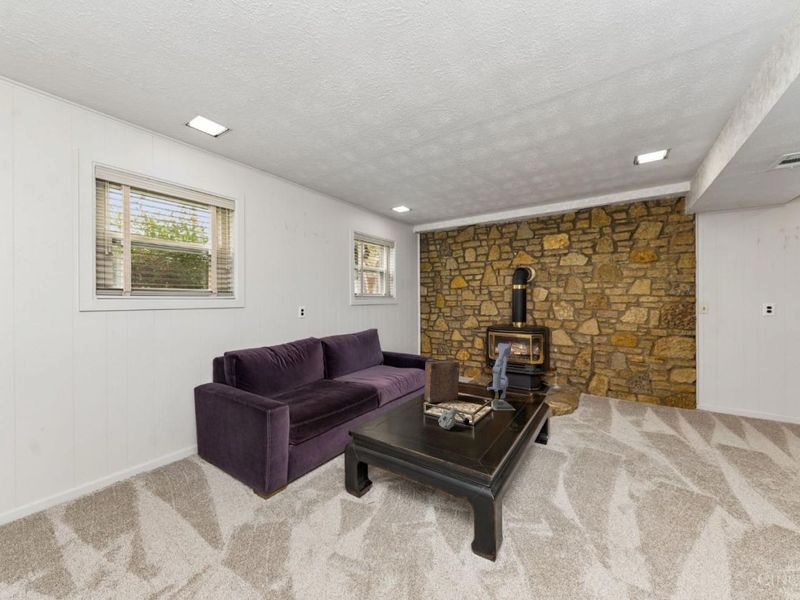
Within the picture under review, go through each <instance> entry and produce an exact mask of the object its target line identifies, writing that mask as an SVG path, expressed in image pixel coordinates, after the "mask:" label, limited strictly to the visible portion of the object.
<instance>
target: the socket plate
mask: <svg viewBox="0 0 800 600" xmlns="http://www.w3.org/2000/svg"><path fill="white" fill-rule="evenodd" d="M487 400H488V399H483V401H484V402H485V403H486V402H487ZM492 409H493V410H494V411H516V409H515V408H514V407H513V406H512V405H511V404H509V403H508V401H505V400H504V399H500V400H499V401H493V408H492Z"/></svg>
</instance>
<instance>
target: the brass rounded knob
mask: <svg viewBox="0 0 800 600" xmlns="http://www.w3.org/2000/svg"><path fill="white" fill-rule="evenodd" d="M494 391H495V390H494ZM492 400H493V399H492ZM493 401H499V391H495V394H494V400H493Z"/></svg>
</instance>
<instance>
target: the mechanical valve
mask: <svg viewBox="0 0 800 600" xmlns="http://www.w3.org/2000/svg"><path fill="white" fill-rule="evenodd" d="M456 415H457V416H459V418H460V419H462V423H463V425H467V426H468V425H469V424H470V422H469V421H470V419H469V418H468V417H464V416H463V415H462V414H461V413H460V412H459V411H458V410H457V408H455V407H454V406H452V407H451V408H450V410H449V411H444V412H443V413H442V414H441V415H440V417H439V419H438V421H437V422H438V424H439V426H440V427H441V428H442V429H443V430H448V431H449V430H451V428H453V427H454V426H455V423H456V422H457V420H456Z"/></svg>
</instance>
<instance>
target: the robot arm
mask: <svg viewBox="0 0 800 600" xmlns="http://www.w3.org/2000/svg"><path fill="white" fill-rule="evenodd" d="M497 349H498V357H497V358H496V360H495V363H494V366H493V367H492V376H493V377H492V386H487V387H486V390H487V391H489V393H490V395H491V400H494V394H495V391H499V400H501V399H506V391H507V388H508V385H509V377H508V376H507V375H506V371H507V364H508V358H509V356H510V355H511V353H512V345H511V344H510V343H509V344H508V343H501V342H498V344H497Z"/></svg>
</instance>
